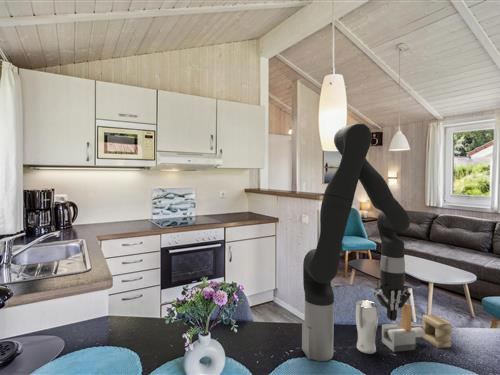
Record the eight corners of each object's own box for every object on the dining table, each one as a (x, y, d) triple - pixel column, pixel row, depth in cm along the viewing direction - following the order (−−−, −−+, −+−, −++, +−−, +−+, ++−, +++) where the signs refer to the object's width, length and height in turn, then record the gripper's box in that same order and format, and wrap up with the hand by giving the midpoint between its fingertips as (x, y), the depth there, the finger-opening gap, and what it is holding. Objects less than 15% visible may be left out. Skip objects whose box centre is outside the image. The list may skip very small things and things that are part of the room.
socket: (438, 348, 98) (438, 324, 98) (422, 337, 105) (422, 315, 105) (450, 346, 99) (451, 323, 99) (434, 336, 106) (434, 314, 106)
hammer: (393, 341, 97) (393, 307, 97) (387, 336, 100) (388, 303, 100) (424, 338, 99) (425, 304, 99) (418, 334, 102) (418, 301, 102)
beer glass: (353, 351, 96) (354, 305, 96) (356, 341, 102) (357, 298, 102) (376, 357, 92) (377, 310, 92) (378, 346, 99) (378, 302, 99)
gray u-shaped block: (393, 351, 95) (394, 333, 95) (381, 341, 102) (382, 324, 102) (415, 349, 97) (415, 331, 97) (402, 339, 103) (402, 322, 103)
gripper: (381, 273, 94) (381, 326, 94) (417, 271, 96) (417, 323, 96) (368, 266, 101) (367, 316, 101) (402, 265, 104) (401, 313, 104)
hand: (391, 319), depth 99 cm, fingers closed
